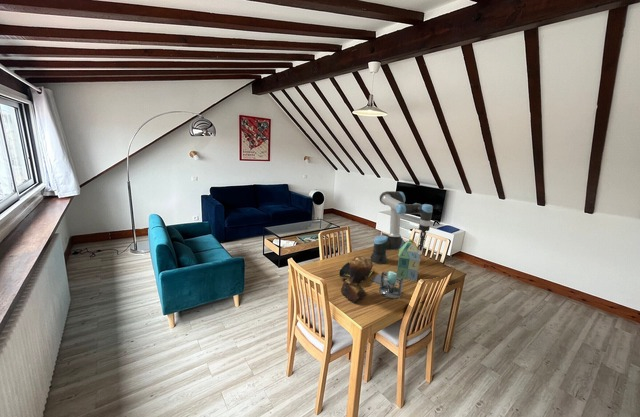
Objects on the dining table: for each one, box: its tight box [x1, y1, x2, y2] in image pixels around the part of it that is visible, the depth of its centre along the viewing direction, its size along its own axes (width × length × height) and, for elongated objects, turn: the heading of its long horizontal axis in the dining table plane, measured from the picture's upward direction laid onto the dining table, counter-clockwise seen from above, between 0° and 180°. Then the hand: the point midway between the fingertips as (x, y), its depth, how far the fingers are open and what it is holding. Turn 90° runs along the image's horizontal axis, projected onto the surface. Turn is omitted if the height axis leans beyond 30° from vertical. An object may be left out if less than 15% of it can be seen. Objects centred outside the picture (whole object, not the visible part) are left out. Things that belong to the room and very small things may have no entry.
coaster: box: [370, 274, 388, 286], centre depth 221 cm, size 13×13×1 cm
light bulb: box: [384, 270, 400, 286], centre depth 201 cm, size 11×7×7 cm, turn 51°
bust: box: [340, 255, 374, 304], centre depth 195 cm, size 21×23×30 cm
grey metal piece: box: [379, 271, 404, 300], centre depth 202 cm, size 16×16×14 cm
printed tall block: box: [396, 238, 422, 282], centre depth 228 cm, size 17×16×30 cm
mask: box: [338, 261, 375, 280], centre depth 226 cm, size 25×6×30 cm
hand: (420, 251), depth 213 cm, fingers open, 13 cm apart
